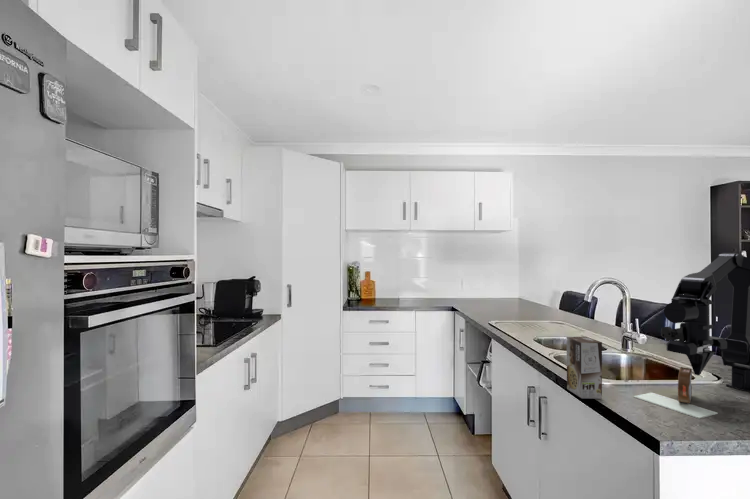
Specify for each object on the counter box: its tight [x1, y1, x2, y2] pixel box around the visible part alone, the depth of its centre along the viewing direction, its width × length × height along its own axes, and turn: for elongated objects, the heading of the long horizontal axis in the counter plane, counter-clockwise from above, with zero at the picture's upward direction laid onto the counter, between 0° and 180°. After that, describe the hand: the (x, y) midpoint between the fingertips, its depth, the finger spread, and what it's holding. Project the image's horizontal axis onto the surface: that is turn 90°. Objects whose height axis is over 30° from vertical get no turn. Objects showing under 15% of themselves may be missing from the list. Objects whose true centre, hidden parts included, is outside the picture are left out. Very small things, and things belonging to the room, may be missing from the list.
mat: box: [633, 392, 719, 420], centre depth 115 cm, size 8×17×1 cm, turn 24°
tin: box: [677, 366, 693, 404], centre depth 118 cm, size 15×3×8 cm, turn 141°
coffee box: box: [565, 336, 603, 400], centre depth 124 cm, size 9×6×16 cm
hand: (697, 374), depth 120 cm, fingers closed
